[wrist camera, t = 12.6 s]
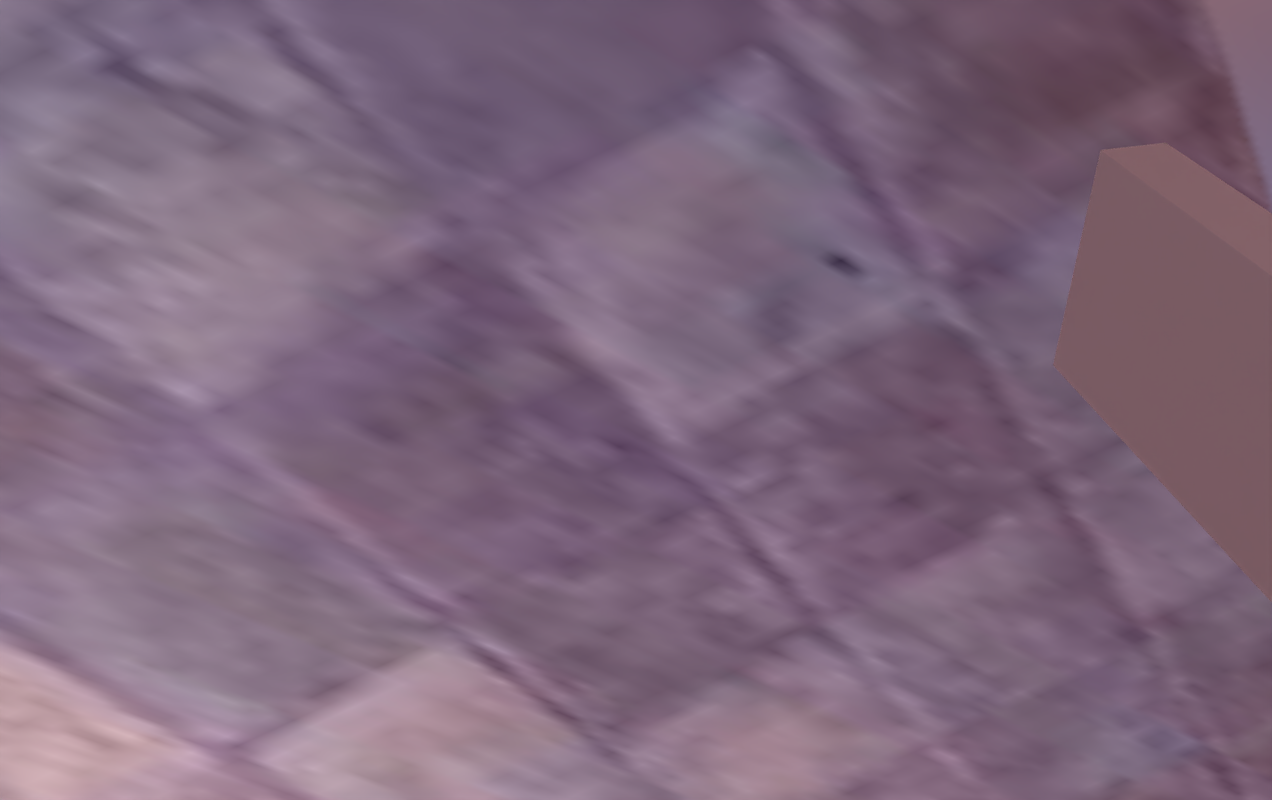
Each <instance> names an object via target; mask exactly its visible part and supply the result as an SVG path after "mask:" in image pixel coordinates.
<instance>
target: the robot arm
mask: <svg viewBox="0 0 1272 800" xmlns="http://www.w3.org/2000/svg"><path fill="white" fill-rule="evenodd" d="M1053 366H1054V367H1055V368H1056V369H1057V370H1058V371H1059V372H1060V373H1061V374H1062V375H1063V376H1064V378H1065V379H1066V380H1067V381H1068V382H1069V383H1070V384H1071V385H1072V386H1073V387H1074V388H1075V389H1076V391H1077V392H1078V393H1079V394H1080V395H1081V396H1082V397H1083V398H1084V399H1085V400H1086V401H1087V402H1088V404H1089V405H1090V406H1091V407H1092V408H1093V409H1094V410H1095V411H1096V412H1097V413H1098V414H1099V415H1100V417H1101V418H1102V419H1103V420H1104V421H1105V422H1106V423H1107V424H1108V425H1109V426H1110V427H1111V429H1112V430H1113V431H1114V432H1115V433H1116V434H1117V435H1118V436H1119V437H1120V438H1121V439H1122V440H1123V442H1124V443H1125V444H1126V445H1127V446H1128V447H1129V448H1130V449H1131V450H1132V451H1133V452H1134V453H1135V455H1136V456H1137V457H1138V458H1139V459H1140V460H1141V461H1142V462H1143V463H1144V464H1145V465H1146V466H1147V468H1148V469H1149V470H1150V471H1151V472H1152V473H1153V474H1154V475H1155V476H1156V477H1157V478H1158V479H1159V481H1160V482H1161V483H1162V484H1163V485H1164V486H1165V487H1166V488H1167V489H1168V490H1169V491H1170V493H1171V494H1172V495H1173V496H1174V497H1175V498H1176V499H1177V500H1178V501H1179V502H1180V503H1181V504H1182V506H1183V507H1184V508H1185V509H1186V510H1187V511H1188V512H1189V513H1190V514H1191V515H1192V516H1193V517H1194V519H1195V520H1196V521H1197V522H1198V523H1199V524H1200V525H1201V526H1202V527H1203V528H1204V529H1205V530H1206V532H1207V533H1208V534H1209V535H1210V536H1211V537H1212V538H1213V539H1214V540H1215V541H1216V542H1217V544H1218V545H1219V546H1220V547H1221V548H1222V549H1223V550H1224V551H1225V552H1226V553H1227V554H1228V555H1229V557H1230V558H1231V559H1232V560H1233V561H1234V562H1235V563H1236V564H1237V565H1238V566H1239V567H1240V568H1241V570H1242V571H1243V572H1244V573H1245V574H1246V575H1247V576H1248V577H1249V578H1250V579H1251V580H1252V581H1253V583H1254V584H1255V585H1256V586H1257V587H1258V588H1259V589H1260V590H1261V591H1262V592H1263V593H1264V595H1265V596H1266V597H1267V598H1268V599H1269V600H1270V601H1271V602H1272V214H1271V213H1270V212H1268V211H1267V210H1265V209H1264V208H1262V207H1261V206H1259V205H1258V204H1256V203H1255V202H1253V201H1252V200H1250V199H1249V198H1247V197H1246V196H1244V195H1243V194H1241V193H1240V192H1238V191H1237V190H1235V189H1234V188H1232V187H1231V186H1229V185H1228V184H1226V183H1225V182H1223V181H1222V180H1220V179H1219V178H1217V177H1216V176H1214V175H1213V174H1211V173H1210V172H1208V171H1207V170H1205V169H1204V168H1202V167H1201V166H1199V165H1198V164H1197V163H1195V162H1194V161H1192V160H1191V159H1189V158H1188V157H1186V156H1185V155H1183V154H1182V153H1180V152H1179V151H1177V150H1176V149H1174V148H1173V147H1171V146H1170V145H1168V144H1167V143H1160V144H1151V145H1142V146H1133V147H1124V148H1115V149H1106V150H1101V151H1100V155H1099V160H1098V164H1097V169H1096V174H1095V178H1094V183H1093V187H1092V192H1091V196H1090V201H1089V205H1088V210H1087V214H1086V219H1085V223H1084V228H1083V232H1082V237H1081V241H1080V246H1079V250H1078V255H1077V259H1076V264H1075V269H1074V273H1073V278H1072V282H1071V287H1070V291H1069V296H1068V300H1067V305H1066V309H1065V314H1064V318H1063V323H1062V327H1061V332H1060V336H1059V341H1058V345H1057V350H1056V354H1055V359H1054V364H1053Z"/></svg>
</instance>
